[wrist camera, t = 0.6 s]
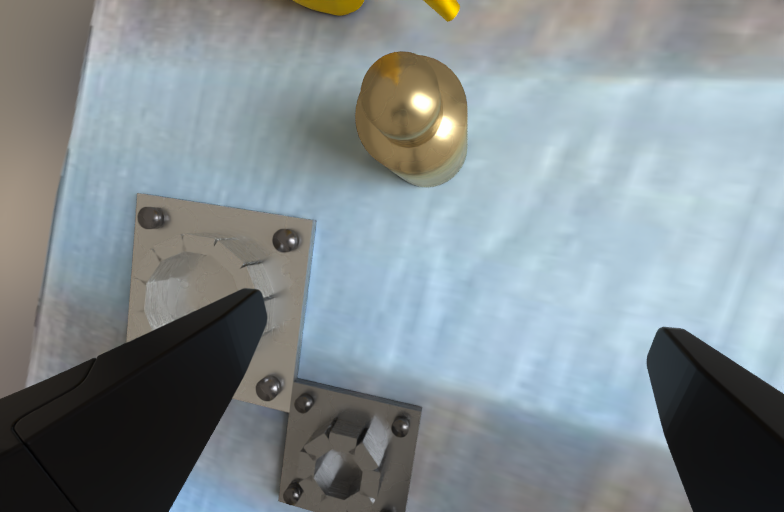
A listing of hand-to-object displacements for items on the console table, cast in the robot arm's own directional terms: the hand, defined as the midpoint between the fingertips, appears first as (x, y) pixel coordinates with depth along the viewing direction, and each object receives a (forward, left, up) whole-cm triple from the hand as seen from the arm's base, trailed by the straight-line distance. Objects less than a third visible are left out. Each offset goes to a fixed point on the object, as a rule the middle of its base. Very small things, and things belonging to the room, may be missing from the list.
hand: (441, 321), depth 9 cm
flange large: (-5, +15, -14) cm, 21 cm away
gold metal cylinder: (+6, +3, -14) cm, 15 cm away
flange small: (-13, +5, -14) cm, 19 cm away
